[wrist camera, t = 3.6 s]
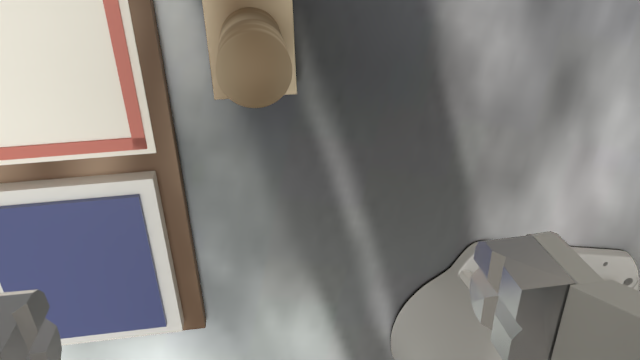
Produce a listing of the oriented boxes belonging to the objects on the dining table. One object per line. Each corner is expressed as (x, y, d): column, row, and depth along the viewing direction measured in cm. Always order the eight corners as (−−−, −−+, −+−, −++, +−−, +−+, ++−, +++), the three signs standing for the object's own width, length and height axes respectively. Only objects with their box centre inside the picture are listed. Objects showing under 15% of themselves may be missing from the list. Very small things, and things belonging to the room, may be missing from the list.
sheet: (109, -100, 27) (107, -100, 27) (156, 152, 34) (156, 153, 33) (-156, -93, 26) (-159, -93, 25) (-52, 168, 32) (-54, 170, 32)
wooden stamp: (287, -33, 31) (305, -12, 22) (293, 82, 34) (311, 137, 26) (201, -29, 30) (188, -7, 22) (216, 87, 33) (208, 146, 25)
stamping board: (135, -107, 28) (131, -107, 27) (206, 318, 42) (205, 327, 41) (-171, -99, 26) (-185, -99, 25) (9, 341, 40) (4, 351, 39)
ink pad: (155, 170, 34) (151, 181, 33) (184, 320, 40) (182, 335, 39) (-39, 186, 33) (-51, 199, 31) (21, 339, 39) (13, 355, 37)
